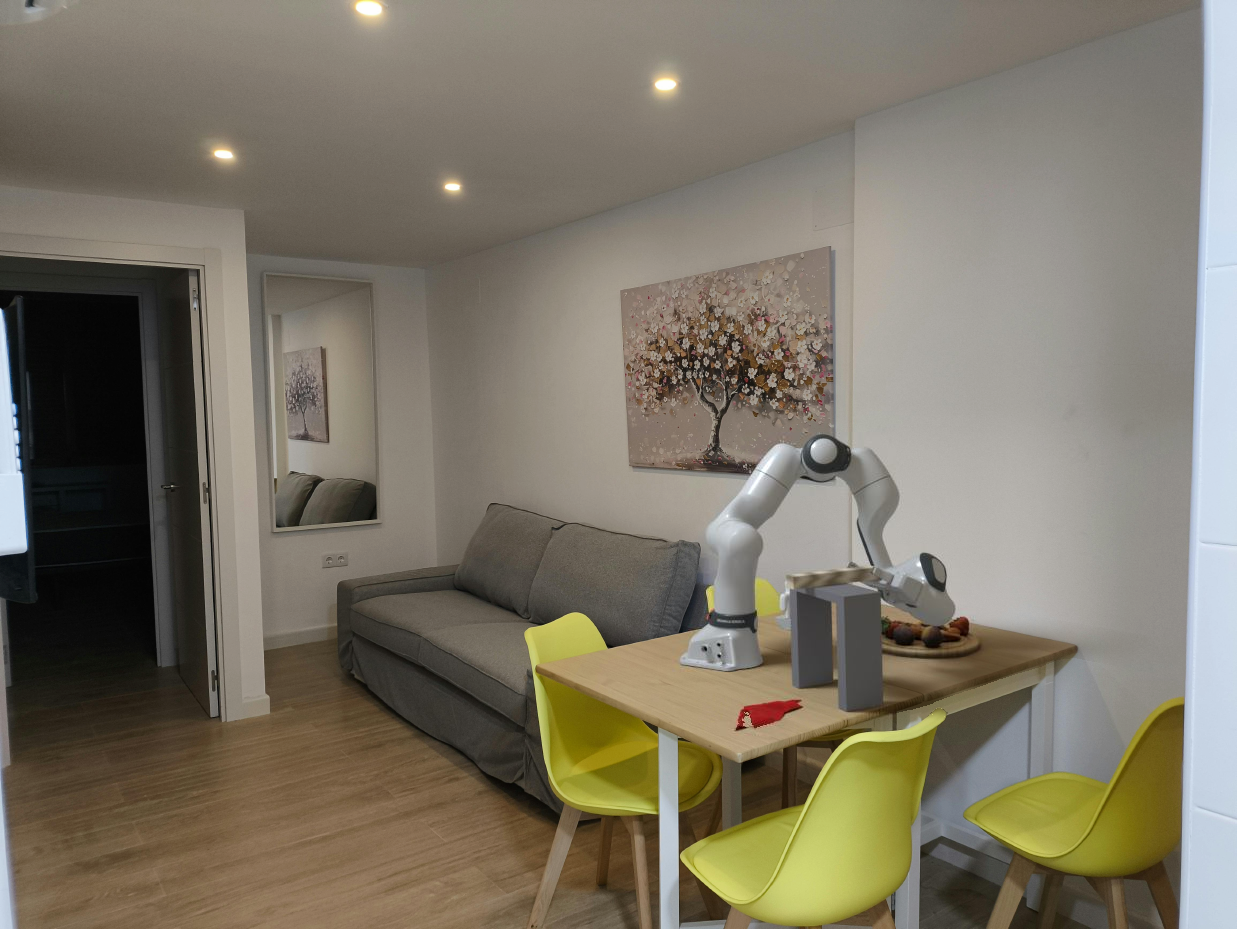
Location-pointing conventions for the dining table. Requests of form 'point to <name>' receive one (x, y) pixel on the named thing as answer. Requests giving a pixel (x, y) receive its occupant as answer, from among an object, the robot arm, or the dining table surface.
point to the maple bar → (830, 577)
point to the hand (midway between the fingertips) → (860, 567)
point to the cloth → (767, 712)
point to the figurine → (785, 619)
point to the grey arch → (838, 642)
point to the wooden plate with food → (928, 639)
